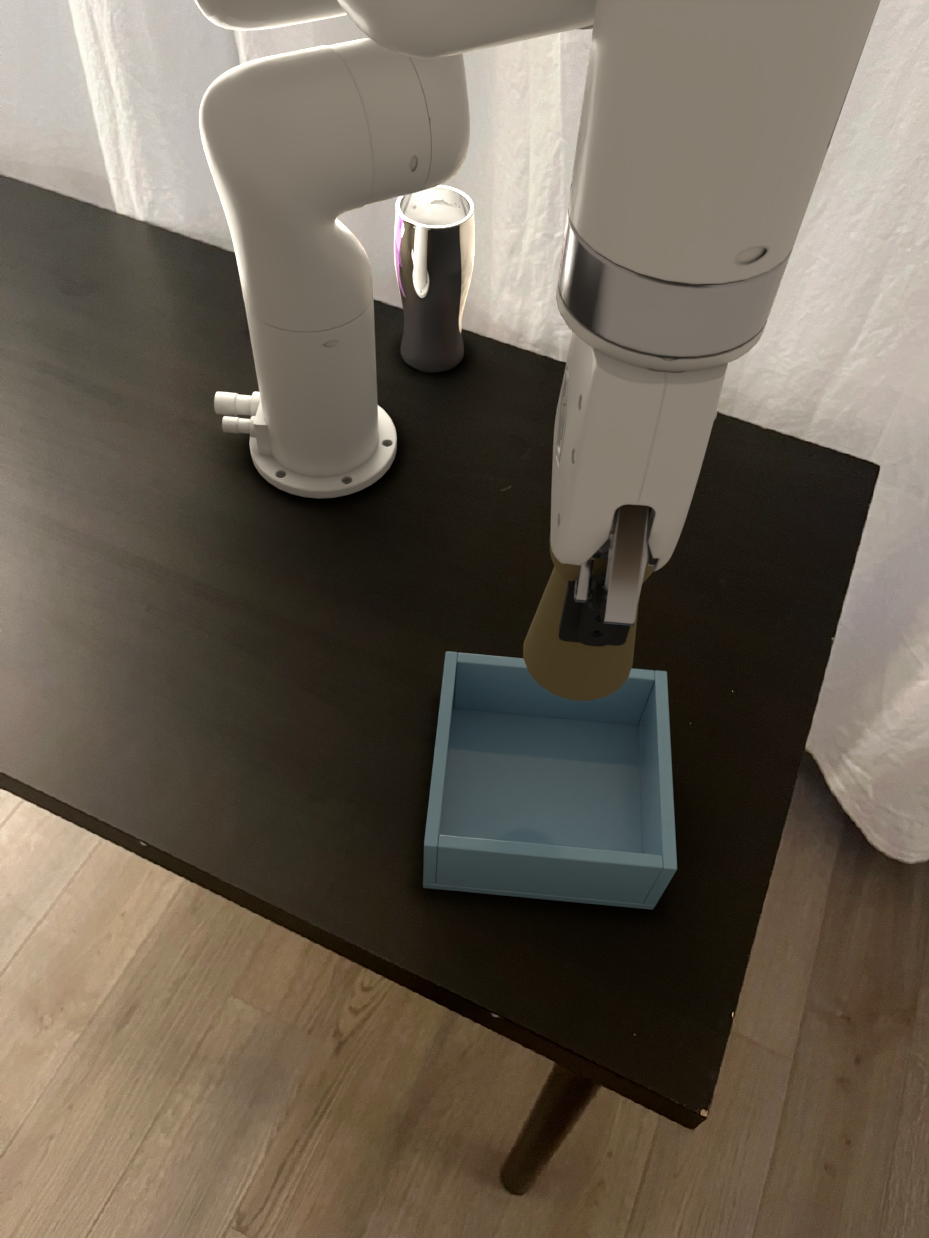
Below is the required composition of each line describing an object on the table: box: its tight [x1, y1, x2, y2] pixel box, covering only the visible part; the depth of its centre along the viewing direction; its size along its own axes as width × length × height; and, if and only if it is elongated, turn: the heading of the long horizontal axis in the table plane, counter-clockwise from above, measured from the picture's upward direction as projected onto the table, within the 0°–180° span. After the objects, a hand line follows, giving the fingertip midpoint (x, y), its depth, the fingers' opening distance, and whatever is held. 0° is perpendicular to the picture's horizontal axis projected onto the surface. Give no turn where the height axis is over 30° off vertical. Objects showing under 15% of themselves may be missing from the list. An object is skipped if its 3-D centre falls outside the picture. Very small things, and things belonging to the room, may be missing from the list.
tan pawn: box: [522, 531, 654, 701], centre depth 48 cm, size 6×6×11 cm
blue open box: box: [422, 650, 678, 911], centre depth 61 cm, size 15×14×7 cm
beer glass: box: [393, 184, 476, 374], centre depth 85 cm, size 7×7×15 cm
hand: (591, 588), depth 48 cm, fingers closed on tan pawn, 5 cm apart
